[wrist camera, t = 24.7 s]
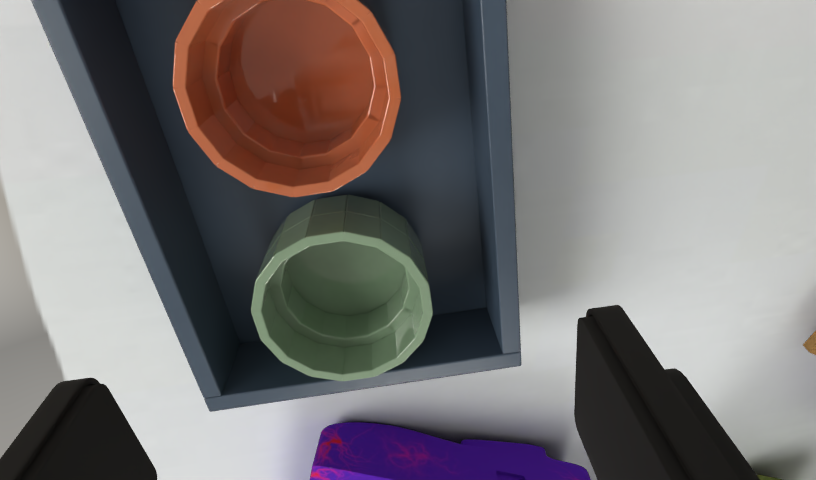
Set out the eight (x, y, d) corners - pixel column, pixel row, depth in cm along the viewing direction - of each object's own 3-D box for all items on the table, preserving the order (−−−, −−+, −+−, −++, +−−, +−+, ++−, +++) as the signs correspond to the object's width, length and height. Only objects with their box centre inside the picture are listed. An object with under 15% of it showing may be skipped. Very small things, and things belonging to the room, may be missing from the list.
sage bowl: (252, 203, 22) (228, 248, 18) (412, 179, 21) (420, 219, 18) (291, 331, 25) (277, 391, 21) (430, 311, 25) (440, 367, 21)
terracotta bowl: (184, -15, 18) (137, -13, 14) (378, -45, 18) (381, -50, 14) (240, 170, 21) (213, 210, 17) (406, 145, 21) (413, 180, 17)
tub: (80, -48, 17) (6, -54, 14) (474, -109, 17) (501, -131, 14) (231, 352, 26) (209, 412, 22) (500, 312, 26) (521, 366, 22)
